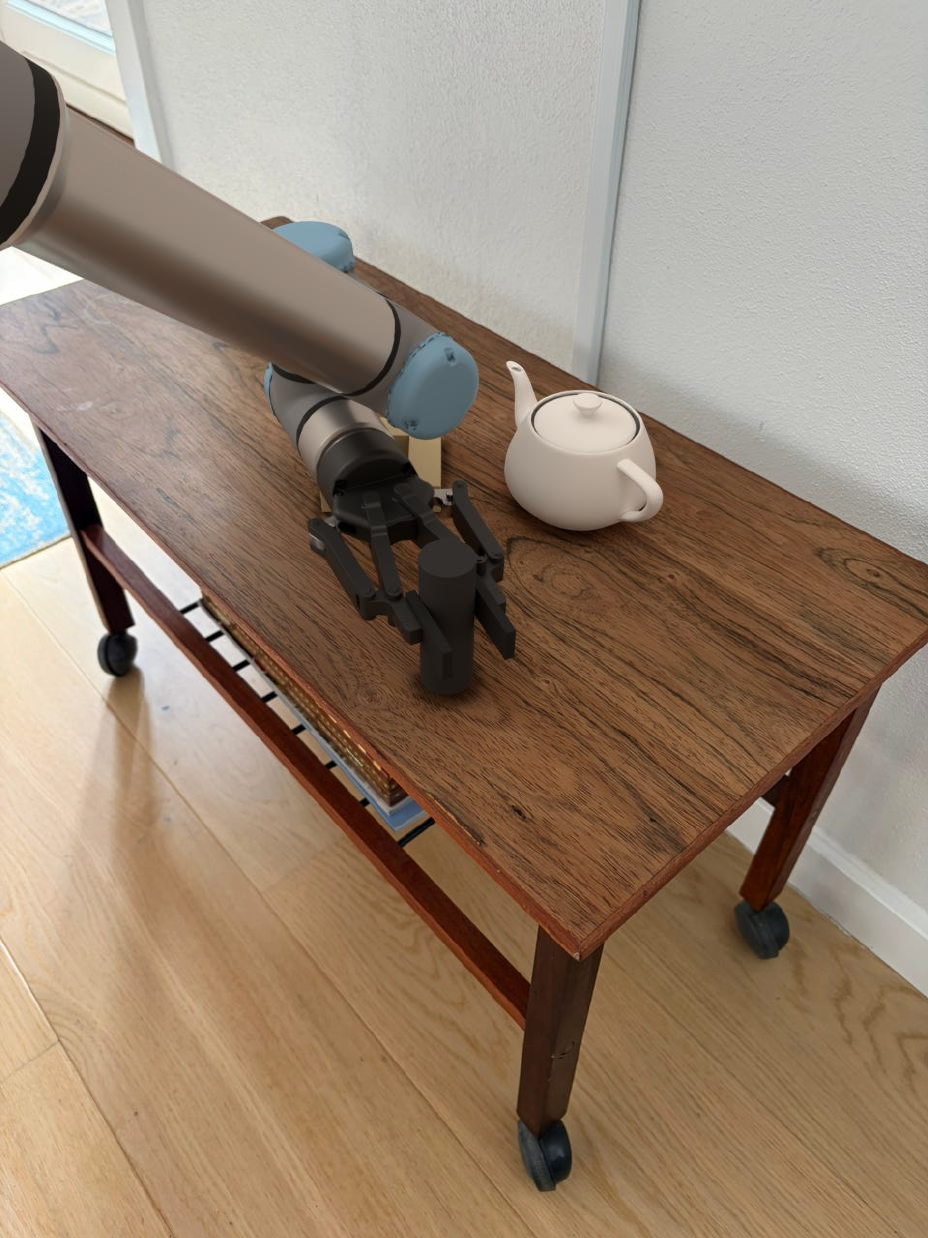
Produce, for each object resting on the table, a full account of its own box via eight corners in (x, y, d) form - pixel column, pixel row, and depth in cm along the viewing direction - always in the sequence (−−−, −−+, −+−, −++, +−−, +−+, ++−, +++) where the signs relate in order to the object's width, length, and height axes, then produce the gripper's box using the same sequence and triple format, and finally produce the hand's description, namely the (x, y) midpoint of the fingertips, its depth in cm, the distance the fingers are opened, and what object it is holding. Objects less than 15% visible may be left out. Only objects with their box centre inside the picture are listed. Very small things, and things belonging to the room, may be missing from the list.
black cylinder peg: (419, 695, 76) (417, 577, 68) (420, 656, 79) (418, 538, 71) (473, 695, 77) (477, 577, 68) (472, 656, 79) (475, 538, 71)
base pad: (322, 511, 93) (319, 485, 91) (331, 442, 100) (329, 416, 98) (440, 512, 93) (440, 485, 91) (441, 442, 101) (441, 417, 99)
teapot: (707, 533, 91) (730, 432, 84) (586, 589, 86) (600, 487, 78) (559, 415, 104) (568, 319, 97) (446, 458, 99) (446, 359, 91)
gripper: (452, 478, 89) (583, 656, 74) (263, 528, 84) (364, 730, 69) (453, 404, 84) (594, 580, 69) (251, 453, 79) (358, 655, 64)
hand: (479, 655), depth 69 cm, fingers closed on black cylinder peg, 4 cm apart
